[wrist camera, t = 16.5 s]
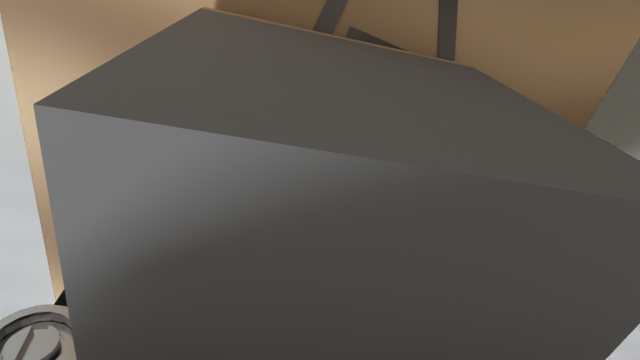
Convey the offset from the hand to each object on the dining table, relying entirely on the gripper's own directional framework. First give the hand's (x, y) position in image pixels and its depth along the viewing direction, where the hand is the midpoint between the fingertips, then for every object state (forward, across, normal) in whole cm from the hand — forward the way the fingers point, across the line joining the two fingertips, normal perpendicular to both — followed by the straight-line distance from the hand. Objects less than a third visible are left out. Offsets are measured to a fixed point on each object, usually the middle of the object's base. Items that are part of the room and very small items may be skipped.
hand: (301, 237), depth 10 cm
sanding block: (+1, 0, 0) cm, 1 cm away
